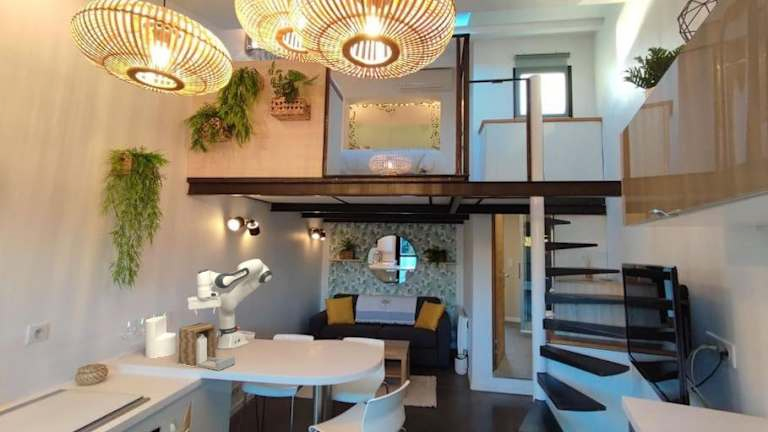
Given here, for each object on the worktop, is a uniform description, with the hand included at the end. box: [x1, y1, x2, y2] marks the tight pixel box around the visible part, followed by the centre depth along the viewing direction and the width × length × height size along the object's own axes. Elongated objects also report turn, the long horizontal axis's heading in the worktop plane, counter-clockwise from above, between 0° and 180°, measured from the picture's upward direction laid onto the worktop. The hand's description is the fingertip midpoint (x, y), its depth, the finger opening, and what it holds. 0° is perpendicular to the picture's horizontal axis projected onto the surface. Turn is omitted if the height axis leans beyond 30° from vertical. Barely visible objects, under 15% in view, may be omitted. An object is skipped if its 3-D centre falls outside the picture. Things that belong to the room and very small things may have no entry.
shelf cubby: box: [178, 322, 217, 367], centre depth 250 cm, size 14×16×24 cm
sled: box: [196, 355, 236, 372], centre depth 246 cm, size 32×12×5 cm, turn 65°
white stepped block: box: [145, 315, 177, 359], centre depth 268 cm, size 19×19×25 cm
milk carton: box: [196, 333, 208, 364], centre depth 250 cm, size 7×7×19 cm
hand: (205, 314), depth 250 cm, fingers open, 8 cm apart
